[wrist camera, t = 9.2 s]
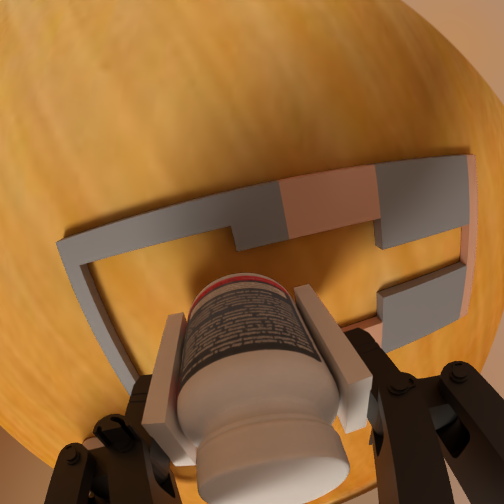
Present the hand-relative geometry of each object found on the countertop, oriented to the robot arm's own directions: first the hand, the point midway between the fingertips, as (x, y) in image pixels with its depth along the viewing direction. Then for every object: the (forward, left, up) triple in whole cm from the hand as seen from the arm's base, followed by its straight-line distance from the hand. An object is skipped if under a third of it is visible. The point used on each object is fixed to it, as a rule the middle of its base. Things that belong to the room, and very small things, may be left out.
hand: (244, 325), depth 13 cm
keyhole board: (0, +4, -2) cm, 4 cm away
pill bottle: (0, 0, -1) cm, 1 cm away
